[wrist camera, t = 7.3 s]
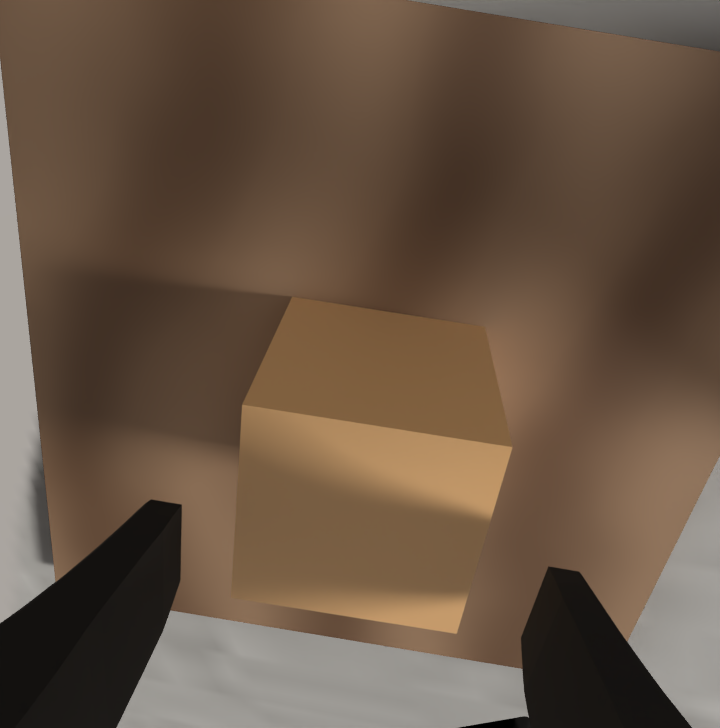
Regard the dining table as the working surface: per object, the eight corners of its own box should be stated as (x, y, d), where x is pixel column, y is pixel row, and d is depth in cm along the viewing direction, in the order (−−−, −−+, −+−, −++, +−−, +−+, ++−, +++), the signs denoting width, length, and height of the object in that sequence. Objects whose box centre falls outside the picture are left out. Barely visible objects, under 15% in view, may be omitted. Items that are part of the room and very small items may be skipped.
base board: (870, 78, 15) (905, 82, 14) (598, 654, 24) (606, 682, 23) (17, -62, 15) (-14, -69, 14) (72, 566, 24) (56, 591, 23)
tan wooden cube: (485, 326, 17) (512, 447, 12) (446, 481, 20) (456, 633, 15) (292, 296, 17) (241, 404, 12) (277, 454, 20) (230, 597, 15)
